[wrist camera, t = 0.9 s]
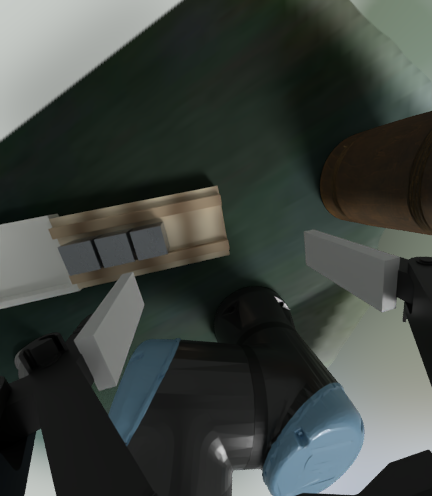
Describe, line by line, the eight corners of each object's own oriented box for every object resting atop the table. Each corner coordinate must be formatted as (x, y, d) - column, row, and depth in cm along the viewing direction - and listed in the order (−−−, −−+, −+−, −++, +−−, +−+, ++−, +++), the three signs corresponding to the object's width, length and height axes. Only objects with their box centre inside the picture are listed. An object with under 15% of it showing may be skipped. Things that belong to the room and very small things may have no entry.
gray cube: (163, 221, 31) (160, 225, 27) (169, 246, 32) (167, 254, 28) (136, 226, 30) (129, 232, 27) (144, 252, 32) (138, 260, 28)
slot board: (214, 186, 33) (218, 185, 30) (226, 249, 37) (230, 256, 33) (61, 216, 31) (44, 220, 27) (87, 280, 35) (75, 292, 31)
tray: (57, 213, 31) (47, 215, 29) (86, 283, 35) (79, 290, 32) (-58, 236, 30) (-79, 240, 27) (-15, 306, 33) (-31, 315, 31)
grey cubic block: (101, 234, 30) (89, 240, 26) (110, 259, 31) (100, 269, 27) (73, 240, 30) (57, 247, 26) (83, 265, 31) (69, 276, 27)
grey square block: (132, 227, 30) (125, 233, 27) (140, 252, 32) (134, 261, 28) (105, 233, 30) (93, 239, 26) (114, 258, 31) (104, 268, 27)
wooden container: (386, 218, 40) (611, 249, 19) (315, 223, 38) (477, 264, 17) (402, 132, 36) (712, 50, 15) (323, 133, 34) (550, 41, 13)
